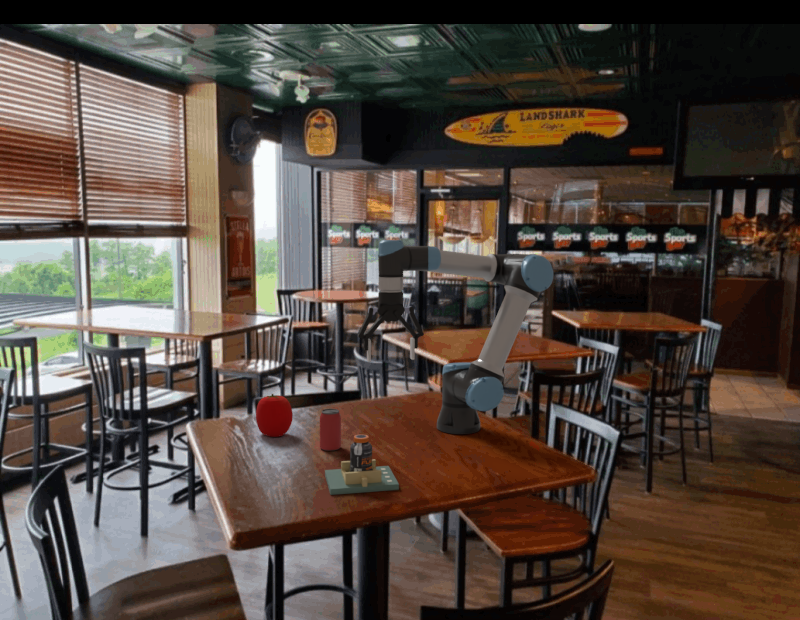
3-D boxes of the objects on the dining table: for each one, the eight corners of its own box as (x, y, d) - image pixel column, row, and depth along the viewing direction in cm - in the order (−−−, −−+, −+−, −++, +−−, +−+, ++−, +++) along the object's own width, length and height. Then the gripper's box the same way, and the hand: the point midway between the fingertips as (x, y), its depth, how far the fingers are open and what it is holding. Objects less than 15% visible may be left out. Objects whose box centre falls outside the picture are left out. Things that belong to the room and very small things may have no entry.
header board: (388, 470, 184) (388, 455, 183) (398, 489, 170) (399, 473, 169) (324, 475, 180) (324, 459, 179) (330, 494, 166) (330, 478, 166)
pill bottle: (363, 482, 171) (363, 440, 169) (345, 478, 174) (345, 437, 173) (376, 475, 176) (376, 435, 174) (358, 471, 179) (358, 431, 178)
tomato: (248, 437, 213) (247, 395, 211) (267, 428, 223) (267, 388, 222) (281, 442, 208) (280, 399, 207) (299, 432, 219) (299, 391, 217)
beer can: (337, 452, 199) (337, 414, 198) (317, 450, 200) (316, 412, 199) (343, 445, 206) (343, 408, 204) (323, 444, 207) (323, 407, 205)
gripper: (427, 289, 202) (426, 356, 205) (348, 290, 197) (348, 359, 199) (433, 291, 195) (433, 360, 198) (351, 292, 190) (352, 363, 192)
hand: (390, 360), depth 198 cm, fingers open, 13 cm apart
